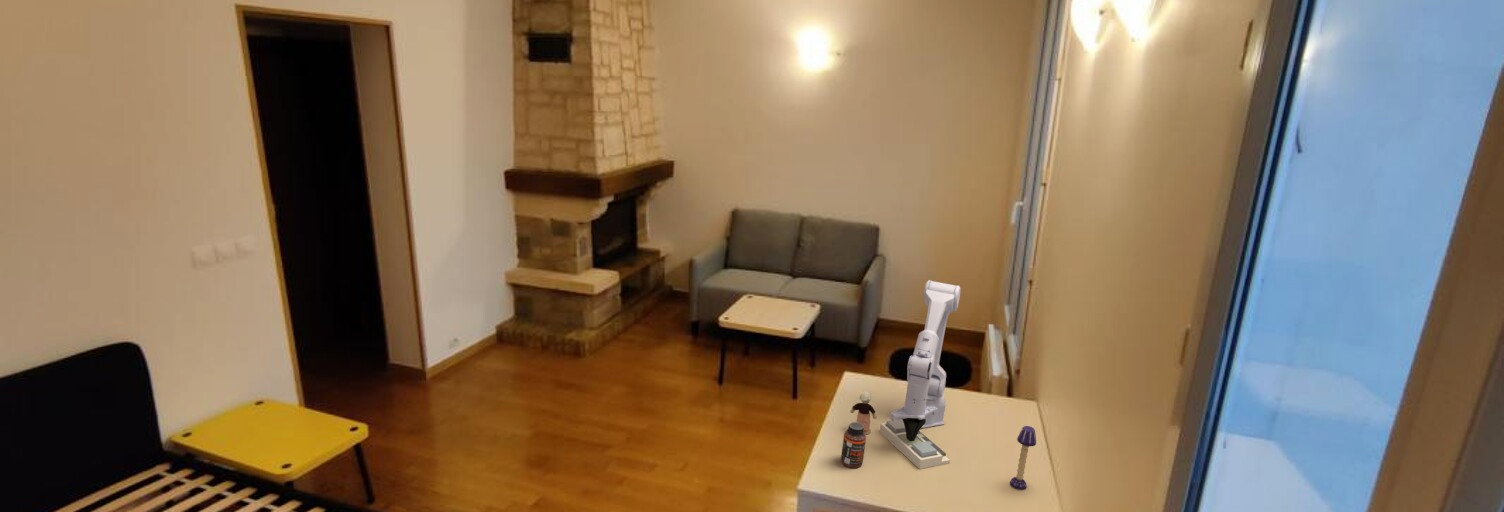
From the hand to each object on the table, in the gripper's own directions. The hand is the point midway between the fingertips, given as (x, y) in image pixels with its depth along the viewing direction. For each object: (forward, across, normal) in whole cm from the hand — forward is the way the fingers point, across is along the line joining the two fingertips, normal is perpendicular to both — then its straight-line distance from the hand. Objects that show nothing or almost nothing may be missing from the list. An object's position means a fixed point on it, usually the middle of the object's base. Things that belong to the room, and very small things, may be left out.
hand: (910, 439), depth 200 cm
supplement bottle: (+3, -20, -2) cm, 20 cm away
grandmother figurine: (+3, -9, +12) cm, 15 cm away
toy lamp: (+3, +18, -24) cm, 30 cm away
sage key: (+1, 0, 0) cm, 1 cm away
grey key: (0, 0, +6) cm, 6 cm away
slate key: (0, 0, -7) cm, 7 cm away
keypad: (+3, +1, 0) cm, 3 cm away
